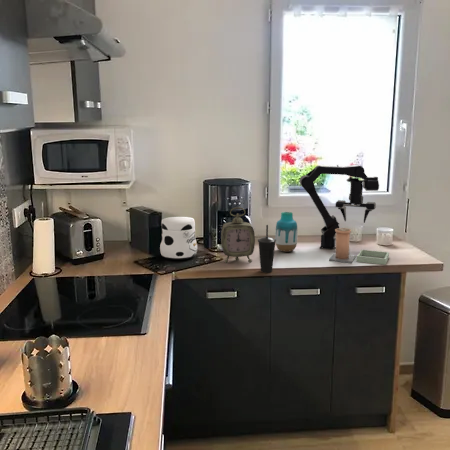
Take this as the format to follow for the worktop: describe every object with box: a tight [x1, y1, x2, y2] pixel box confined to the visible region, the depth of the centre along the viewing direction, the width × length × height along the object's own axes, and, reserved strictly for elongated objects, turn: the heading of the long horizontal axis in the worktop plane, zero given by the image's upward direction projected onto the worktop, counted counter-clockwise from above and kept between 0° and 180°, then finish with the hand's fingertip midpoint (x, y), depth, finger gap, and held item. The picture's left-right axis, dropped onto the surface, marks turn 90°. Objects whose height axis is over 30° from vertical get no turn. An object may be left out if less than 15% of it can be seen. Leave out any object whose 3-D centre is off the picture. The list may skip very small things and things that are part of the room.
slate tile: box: [328, 253, 356, 264], centre depth 233 cm, size 10×10×1 cm
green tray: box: [356, 249, 390, 265], centre depth 232 cm, size 13×13×2 cm
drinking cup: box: [257, 224, 276, 274], centre depth 213 cm, size 8×8×20 cm
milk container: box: [159, 216, 198, 261], centre depth 236 cm, size 17×17×18 cm
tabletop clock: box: [220, 206, 256, 264], centre depth 228 cm, size 14×9×25 cm, turn 95°
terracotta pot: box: [335, 227, 352, 259], centre depth 232 cm, size 7×7×13 cm
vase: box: [274, 211, 298, 253], centre depth 246 cm, size 11×11×19 cm
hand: (354, 222), depth 251 cm, fingers open, 9 cm apart
